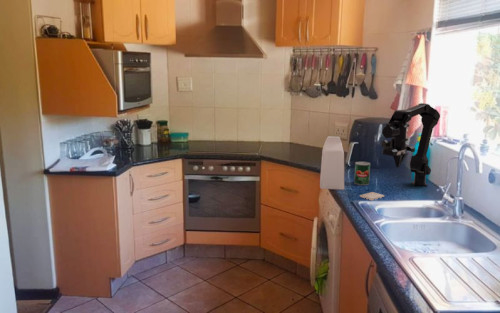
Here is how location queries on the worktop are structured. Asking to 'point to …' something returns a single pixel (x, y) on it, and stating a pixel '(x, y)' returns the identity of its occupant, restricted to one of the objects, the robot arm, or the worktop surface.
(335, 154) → the milk
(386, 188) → the worktop surface
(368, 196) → the tile
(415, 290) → the worktop surface
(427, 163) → the robot arm
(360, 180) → the canned tomato
